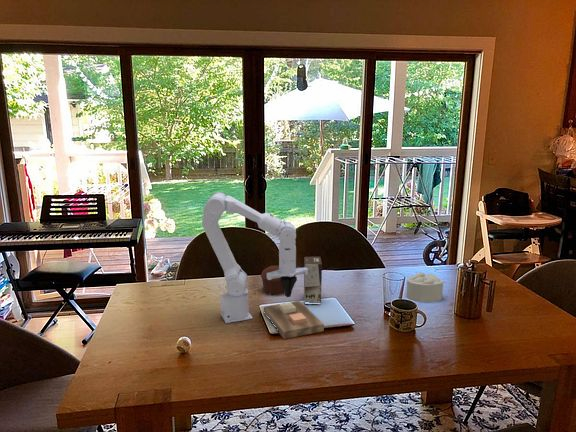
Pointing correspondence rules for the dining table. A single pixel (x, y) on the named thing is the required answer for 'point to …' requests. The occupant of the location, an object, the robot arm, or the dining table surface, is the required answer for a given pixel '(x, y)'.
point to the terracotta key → (297, 318)
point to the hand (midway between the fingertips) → (287, 296)
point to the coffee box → (312, 279)
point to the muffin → (271, 282)
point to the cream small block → (287, 308)
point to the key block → (287, 327)
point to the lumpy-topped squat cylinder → (424, 288)
